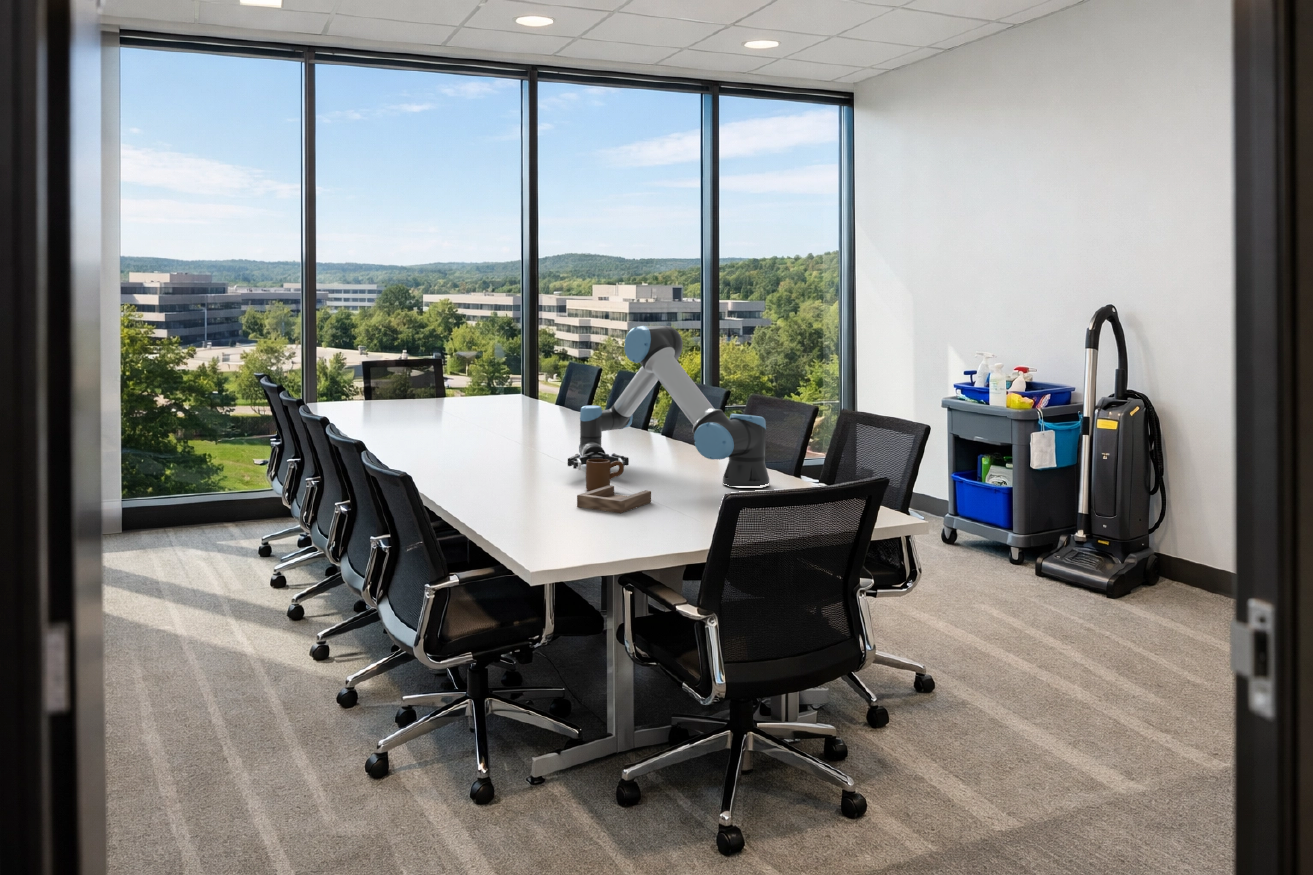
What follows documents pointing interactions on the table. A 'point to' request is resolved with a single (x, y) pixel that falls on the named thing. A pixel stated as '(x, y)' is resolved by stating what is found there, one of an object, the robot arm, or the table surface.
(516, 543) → the table surface
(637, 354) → the robot arm
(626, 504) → the u rest
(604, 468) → the mug
